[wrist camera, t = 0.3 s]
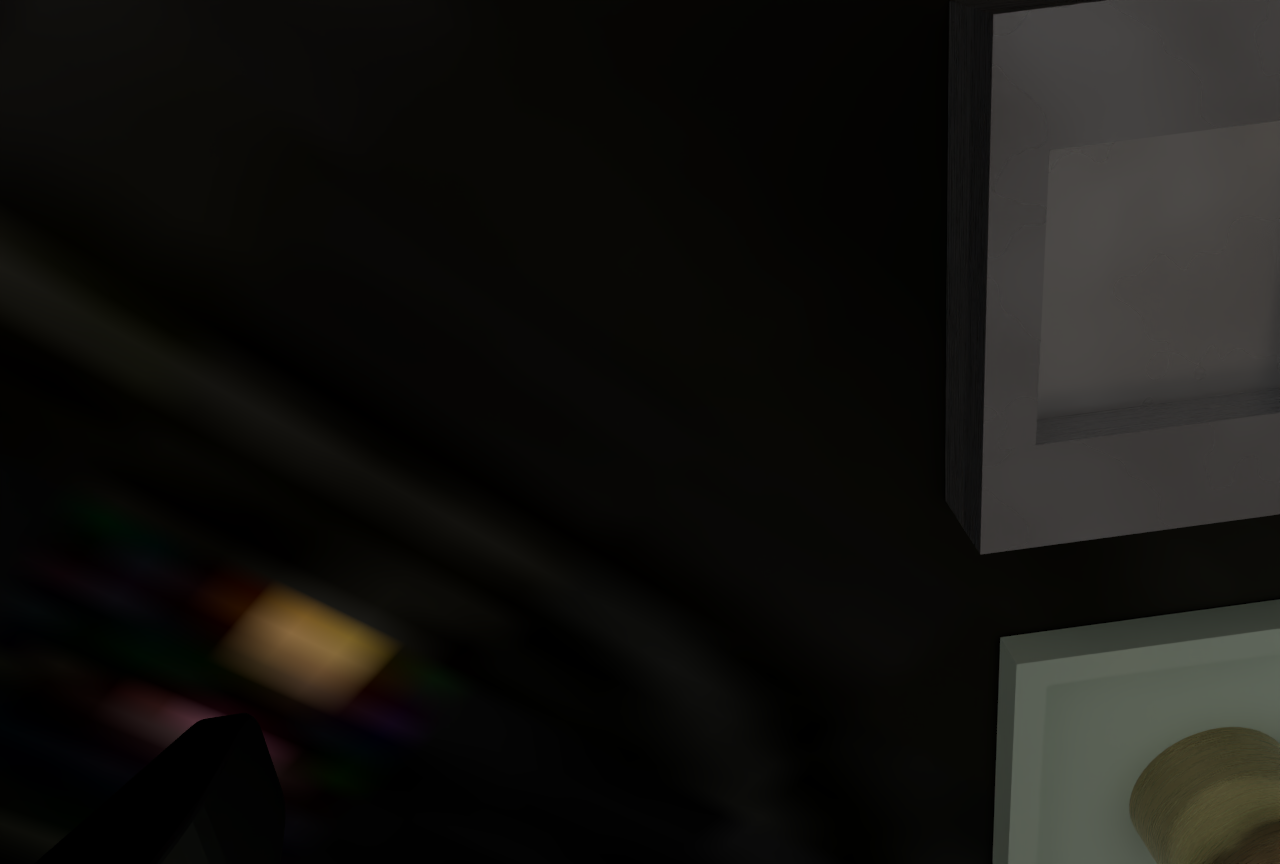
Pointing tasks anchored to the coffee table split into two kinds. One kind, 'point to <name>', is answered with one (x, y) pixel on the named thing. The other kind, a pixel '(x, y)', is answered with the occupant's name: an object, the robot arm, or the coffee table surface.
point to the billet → (1211, 800)
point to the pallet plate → (1111, 267)
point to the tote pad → (1117, 721)
